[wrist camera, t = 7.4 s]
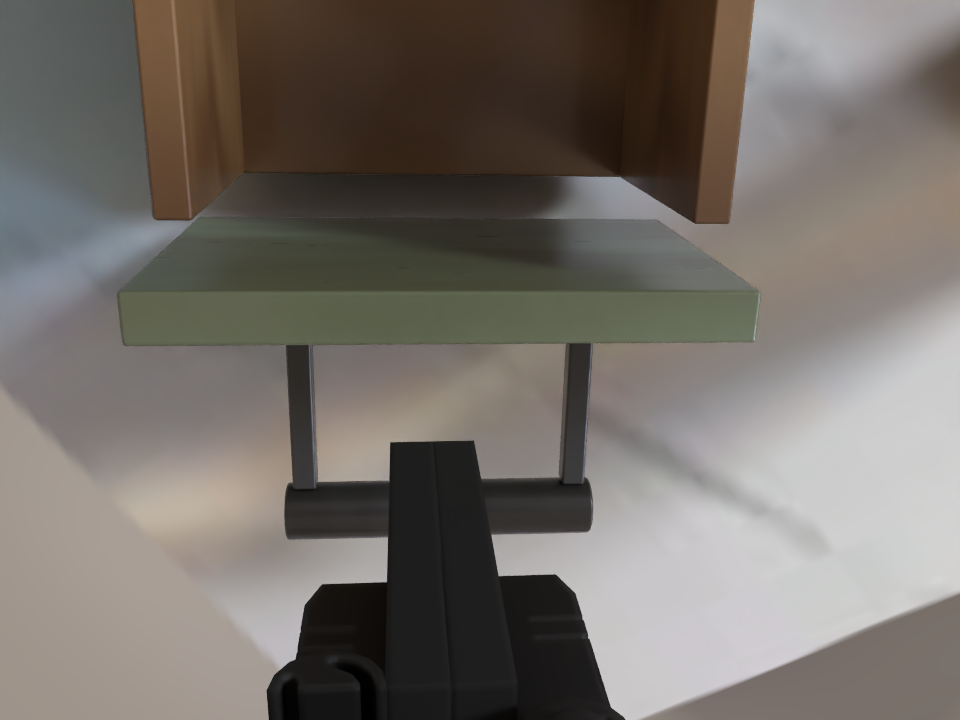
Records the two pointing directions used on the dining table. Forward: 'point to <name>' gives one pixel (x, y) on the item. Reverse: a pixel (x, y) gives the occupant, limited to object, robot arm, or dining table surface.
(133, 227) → the dining table surface
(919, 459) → the dining table surface
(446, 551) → the robot arm
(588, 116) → the drawer
